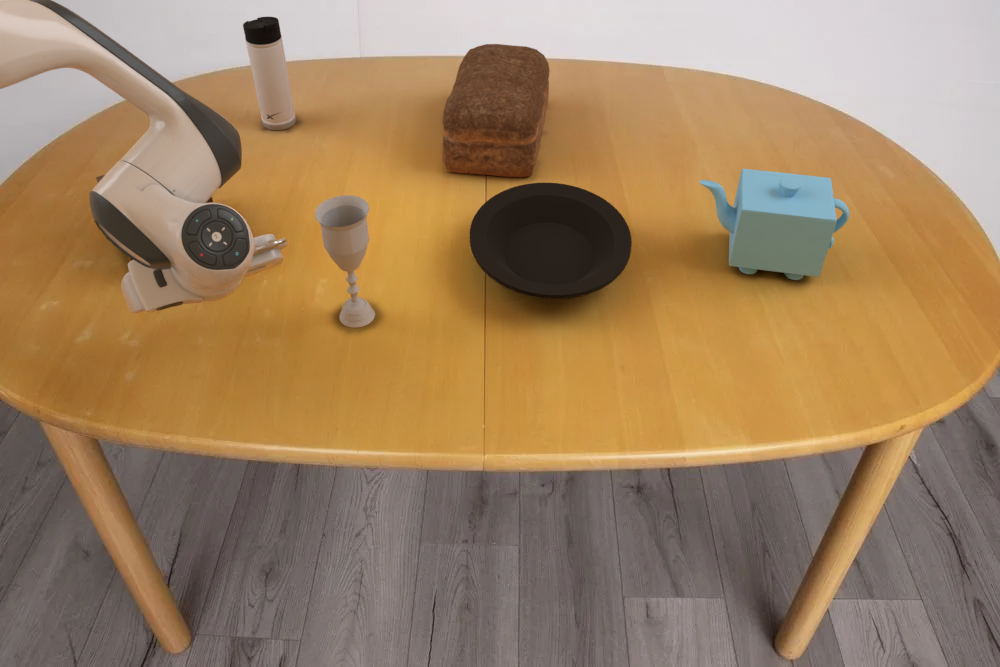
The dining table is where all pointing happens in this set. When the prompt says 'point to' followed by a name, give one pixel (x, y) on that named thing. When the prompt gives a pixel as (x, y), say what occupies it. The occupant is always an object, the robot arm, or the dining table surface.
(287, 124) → the travel mug
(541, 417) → the dining table surface
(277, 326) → the dining table surface
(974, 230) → the dining table surface
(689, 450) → the dining table surface
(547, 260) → the plate
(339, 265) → the chalice
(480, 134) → the bread
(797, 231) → the teapot
